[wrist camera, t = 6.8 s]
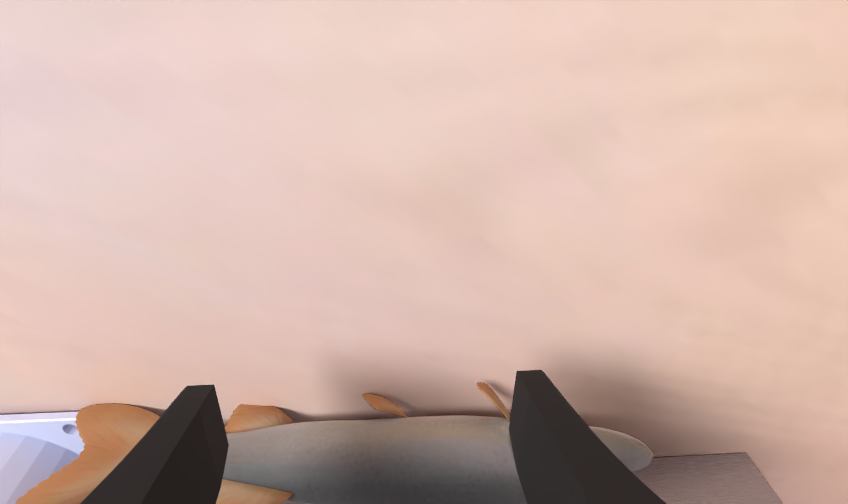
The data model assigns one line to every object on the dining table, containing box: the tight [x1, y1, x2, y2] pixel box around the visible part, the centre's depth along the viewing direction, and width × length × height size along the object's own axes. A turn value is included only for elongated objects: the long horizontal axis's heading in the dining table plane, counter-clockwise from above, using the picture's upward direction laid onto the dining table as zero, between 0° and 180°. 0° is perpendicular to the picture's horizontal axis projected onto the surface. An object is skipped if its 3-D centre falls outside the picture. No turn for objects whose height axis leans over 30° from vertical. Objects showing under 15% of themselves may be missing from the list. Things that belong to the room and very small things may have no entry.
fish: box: [15, 382, 653, 504], centre depth 18 cm, size 4×21×5 cm, turn 85°
